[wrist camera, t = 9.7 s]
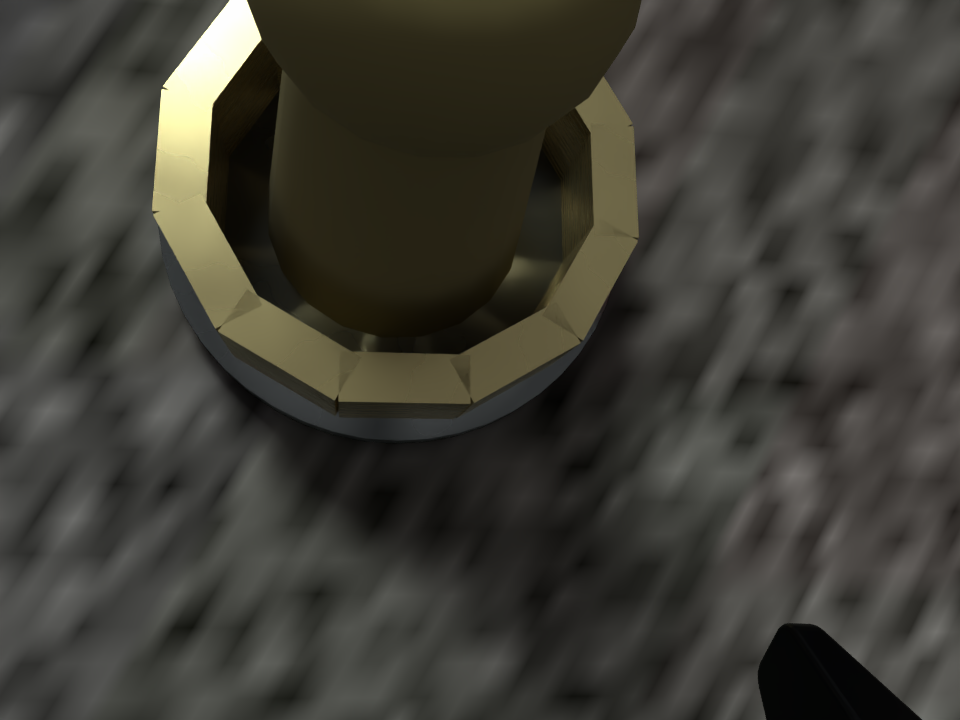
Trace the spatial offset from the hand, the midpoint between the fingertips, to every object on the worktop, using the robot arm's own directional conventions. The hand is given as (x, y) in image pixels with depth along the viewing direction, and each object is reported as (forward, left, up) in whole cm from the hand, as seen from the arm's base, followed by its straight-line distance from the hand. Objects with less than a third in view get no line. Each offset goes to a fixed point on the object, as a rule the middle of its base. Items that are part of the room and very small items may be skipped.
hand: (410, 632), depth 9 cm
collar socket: (+9, 0, -9) cm, 13 cm away
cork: (+8, 0, -9) cm, 12 cm away
